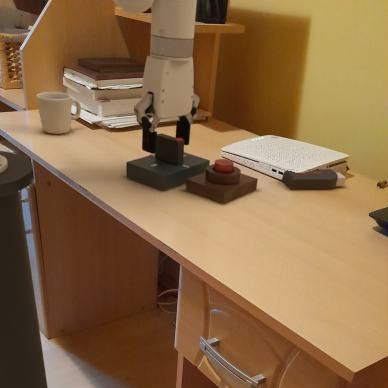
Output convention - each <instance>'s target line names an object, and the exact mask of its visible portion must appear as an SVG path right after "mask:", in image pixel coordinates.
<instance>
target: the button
mask: <svg viewBox="0 0 388 388" xmlns="http://www.w3.org/2000/svg"><path fill="white" fill-rule="evenodd" d="M233 166H235V163H234V161H233V160H230V159H227V158H220V159H216V160H214V171H215V172H218V173H232V172H233Z"/></svg>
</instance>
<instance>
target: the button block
mask: <svg viewBox="0 0 388 388" xmlns="http://www.w3.org/2000/svg"><path fill="white" fill-rule="evenodd" d="M214 164H215V163H214ZM214 164H213V163H212V164H210V166H207V168H206V172H205V173H202V174H200V175H197V176H194V177H191V178H188V179H186V183H185V191H186V192H189V193H191V194H194V195H197V196H199V197H203V198H205V199H208V200H211V201H214V202H216V203H219V204H222V205H224V204H227V203H229V202H231V201H234V200H236V199H238V198H241V197H243V196H245V195H247V194H249V193H252V192H254V191H257V188H258V181H259V179H258V178H257V177H255V176H250V175H248V174H245V173H242V170H241V169H240V168H239V167H238V166H235V165H233V172H232V173H218V172H215V171H214Z"/></svg>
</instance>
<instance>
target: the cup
mask: <svg viewBox="0 0 388 388" xmlns="http://www.w3.org/2000/svg"><path fill="white" fill-rule="evenodd" d="M35 98H36V104H37V109H38V113H39V119H40V123H41V127H42V129H43V131H44V132H45V133H48V134H53V135H60V134H61V135H63V134H66V133H69V131H70V130H71V126H72V121H74V120H77V119H79V117H80V116H81V113H82V107H81V102H80V101H79V100H78V99H77V98H74V97H72V95H71V94H69V93H65V92H62V91H61V92H59V91H43V92H39V93H37V94H36V95H35ZM73 104H75V108H76V109H75V113H74V114H72V106H73Z"/></svg>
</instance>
